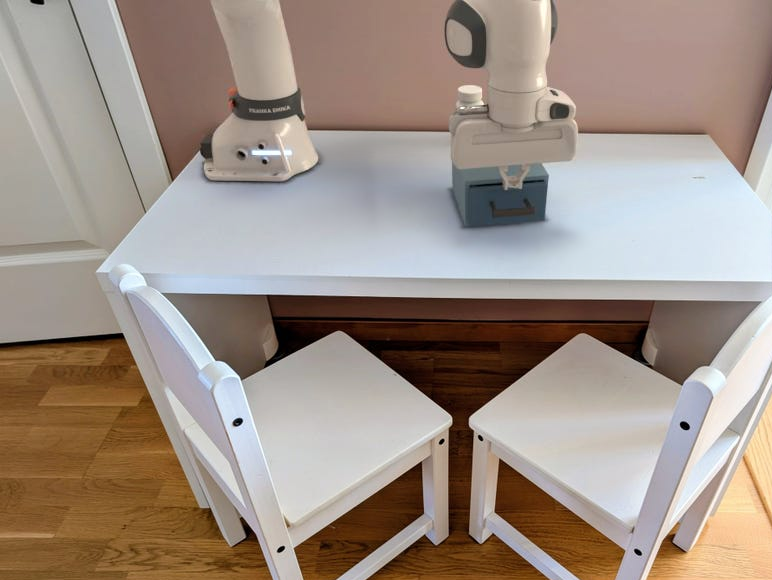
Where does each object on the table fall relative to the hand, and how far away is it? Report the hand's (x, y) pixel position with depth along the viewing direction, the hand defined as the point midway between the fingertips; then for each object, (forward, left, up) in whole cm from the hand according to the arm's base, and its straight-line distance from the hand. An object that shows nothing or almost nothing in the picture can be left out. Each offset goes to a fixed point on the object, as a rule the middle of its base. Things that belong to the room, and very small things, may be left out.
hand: (512, 188), depth 101 cm
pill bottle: (0, +39, -8) cm, 40 cm away
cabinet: (0, +10, -8) cm, 13 cm away
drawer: (0, +6, -7) cm, 9 cm away
